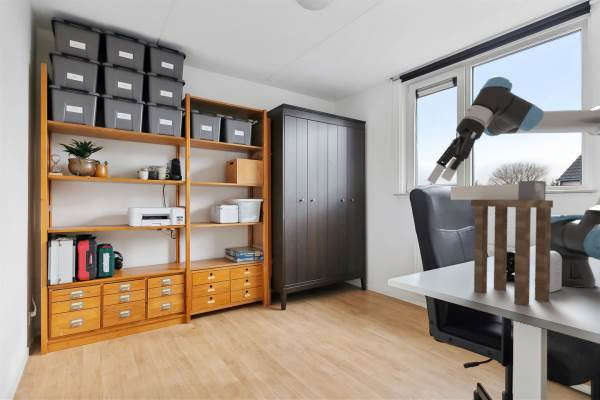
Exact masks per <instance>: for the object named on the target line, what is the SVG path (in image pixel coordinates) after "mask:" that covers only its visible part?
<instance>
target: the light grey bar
mask: <svg viewBox="0 0 600 400" xmlns="http://www.w3.org/2000/svg"><path fill="white" fill-rule="evenodd" d="M450 200H452V201H453V200H454V201H455V200H458V201H460V200H461V201H468V200H469V201H471V200H546V181H544V180H519V181H518V183H502V184H485V185H483V184H481V185H462V186H460V185H459V186H458V185H457V186H456V185H455V186H450Z"/></svg>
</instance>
